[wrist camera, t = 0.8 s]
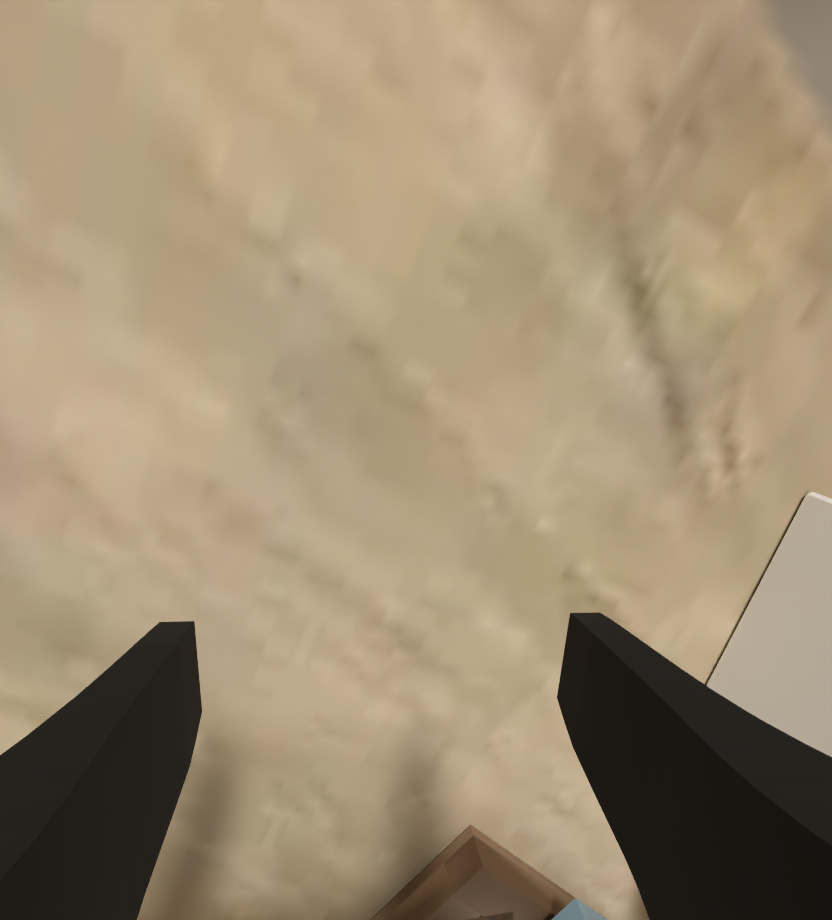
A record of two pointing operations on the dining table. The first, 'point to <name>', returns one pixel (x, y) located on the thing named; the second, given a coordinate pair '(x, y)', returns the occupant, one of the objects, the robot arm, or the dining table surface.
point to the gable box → (788, 635)
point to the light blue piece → (578, 912)
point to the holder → (477, 886)
